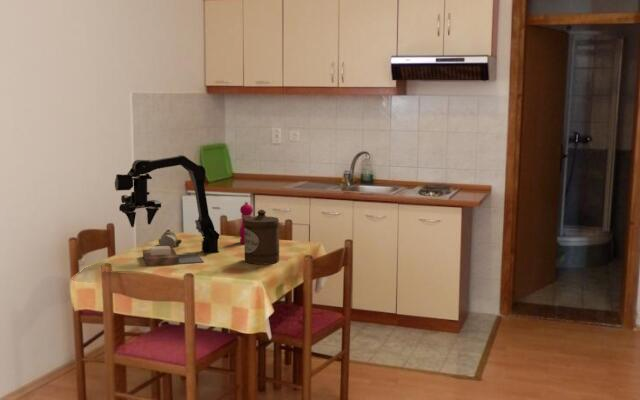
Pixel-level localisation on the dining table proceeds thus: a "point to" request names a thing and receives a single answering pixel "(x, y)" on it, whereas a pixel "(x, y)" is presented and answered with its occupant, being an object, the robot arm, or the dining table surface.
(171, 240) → the ceramic sculpture
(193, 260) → the mat
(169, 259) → the deck
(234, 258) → the dining table surface
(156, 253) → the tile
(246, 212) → the pepper mill
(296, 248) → the dining table surface
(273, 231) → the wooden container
